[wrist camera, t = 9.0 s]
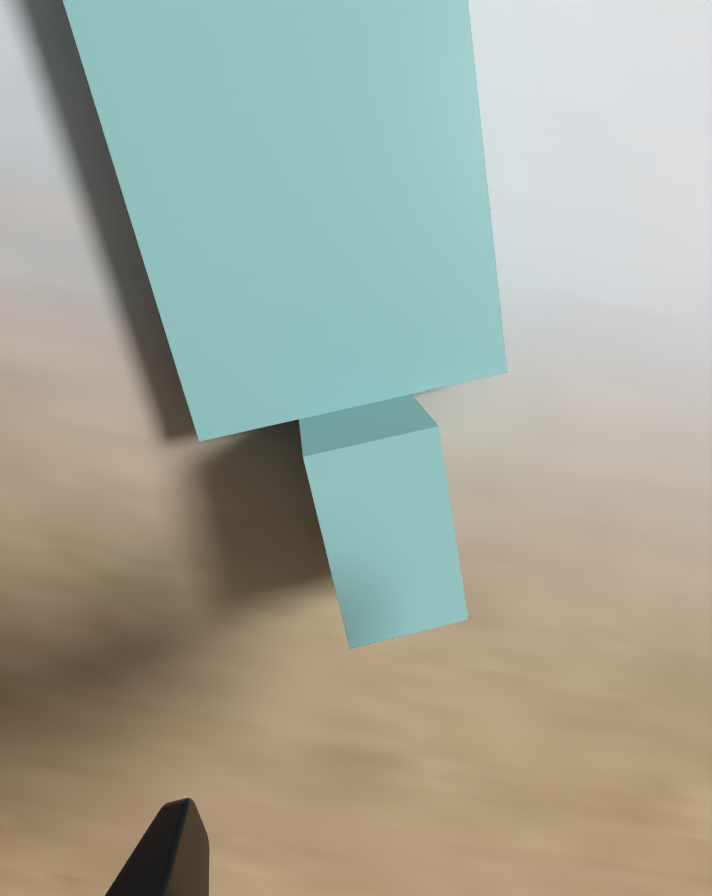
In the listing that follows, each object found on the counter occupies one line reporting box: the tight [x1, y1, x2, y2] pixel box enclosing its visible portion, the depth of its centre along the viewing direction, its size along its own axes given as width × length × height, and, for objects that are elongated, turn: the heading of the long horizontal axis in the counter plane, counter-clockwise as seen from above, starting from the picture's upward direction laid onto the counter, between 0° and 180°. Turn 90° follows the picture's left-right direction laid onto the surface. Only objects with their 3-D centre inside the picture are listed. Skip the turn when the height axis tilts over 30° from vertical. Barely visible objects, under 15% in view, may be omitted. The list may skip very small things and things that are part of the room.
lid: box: [63, 0, 507, 649], centre depth 16 cm, size 10×21×5 cm, turn 11°
